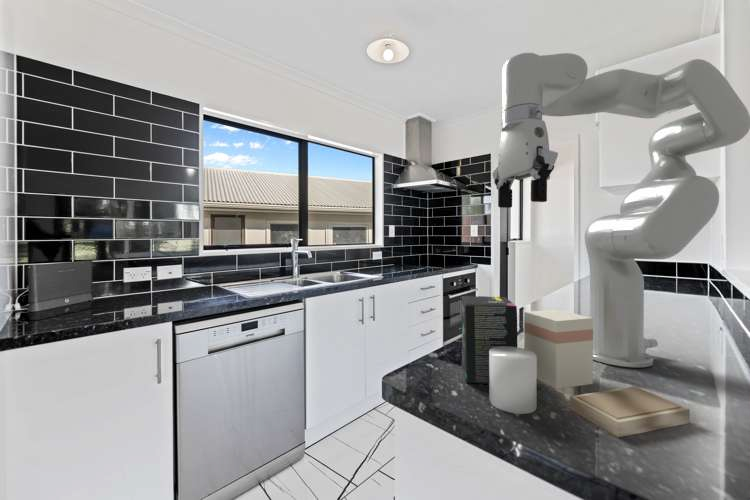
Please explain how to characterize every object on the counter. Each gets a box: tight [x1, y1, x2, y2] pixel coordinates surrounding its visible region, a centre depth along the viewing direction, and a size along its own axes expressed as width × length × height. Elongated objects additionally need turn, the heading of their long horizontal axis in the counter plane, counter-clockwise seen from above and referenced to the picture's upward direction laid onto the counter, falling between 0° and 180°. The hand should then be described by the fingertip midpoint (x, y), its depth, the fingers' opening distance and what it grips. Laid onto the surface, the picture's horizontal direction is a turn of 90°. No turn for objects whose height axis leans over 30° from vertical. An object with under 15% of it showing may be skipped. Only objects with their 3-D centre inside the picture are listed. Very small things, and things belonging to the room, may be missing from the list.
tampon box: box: [461, 295, 518, 385], centre depth 63 cm, size 11×9×15 cm
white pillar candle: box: [488, 346, 538, 415], centre depth 52 cm, size 7×7×8 cm
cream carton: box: [523, 308, 594, 390], centre depth 61 cm, size 8×8×12 cm
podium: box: [569, 385, 691, 438], centre depth 47 cm, size 13×8×2 cm, turn 104°
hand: (520, 204), depth 66 cm, fingers open, 9 cm apart
